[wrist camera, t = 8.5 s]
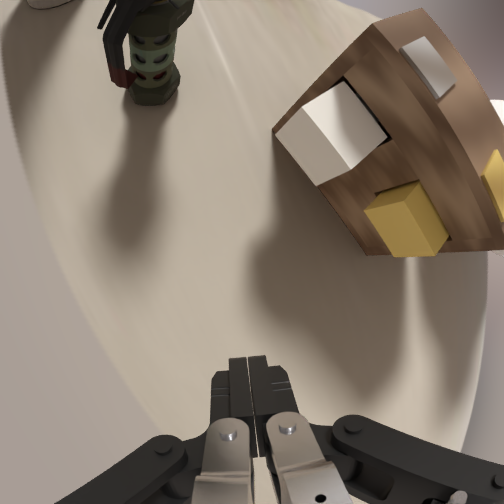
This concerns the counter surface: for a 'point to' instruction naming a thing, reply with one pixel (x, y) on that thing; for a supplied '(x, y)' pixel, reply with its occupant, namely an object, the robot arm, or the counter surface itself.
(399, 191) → the mustard button
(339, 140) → the ivory button
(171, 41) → the grenade
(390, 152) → the brown wooden block
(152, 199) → the counter surface
